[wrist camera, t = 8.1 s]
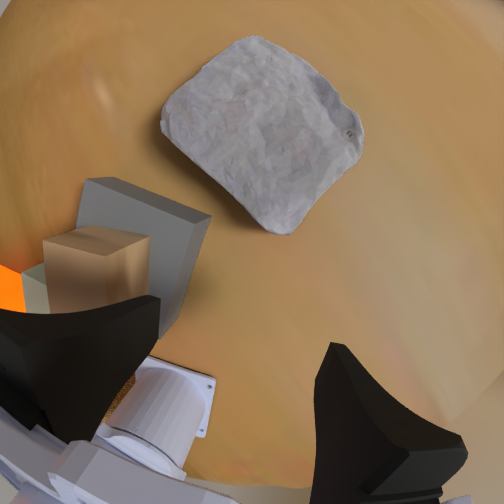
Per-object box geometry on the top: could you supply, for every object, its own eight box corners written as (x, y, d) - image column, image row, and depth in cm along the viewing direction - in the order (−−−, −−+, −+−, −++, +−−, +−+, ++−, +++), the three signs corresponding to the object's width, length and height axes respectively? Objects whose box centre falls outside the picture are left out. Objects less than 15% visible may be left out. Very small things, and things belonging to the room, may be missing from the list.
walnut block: (148, 305, 19) (110, 341, 14) (93, 289, 19) (50, 315, 15) (150, 235, 18) (105, 256, 13) (91, 224, 18) (42, 239, 13)
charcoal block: (179, 315, 23) (160, 339, 20) (95, 272, 24) (68, 287, 20) (213, 215, 21) (194, 224, 17) (115, 176, 21) (85, 178, 17)
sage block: (92, 317, 25) (61, 340, 20) (58, 301, 25) (27, 320, 20) (90, 271, 23) (55, 289, 19) (55, 257, 24) (20, 272, 19)
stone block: (251, 49, 19) (160, 135, 19) (253, 15, 14) (137, 115, 15) (366, 147, 20) (278, 242, 21) (394, 132, 15) (288, 251, 16)
